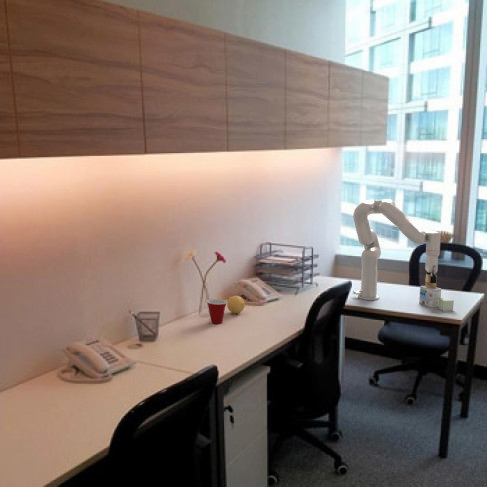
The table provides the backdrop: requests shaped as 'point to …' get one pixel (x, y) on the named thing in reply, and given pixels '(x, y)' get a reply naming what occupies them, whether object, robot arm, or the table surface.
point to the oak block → (427, 282)
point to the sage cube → (445, 304)
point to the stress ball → (235, 304)
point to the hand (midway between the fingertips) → (431, 281)
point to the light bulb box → (429, 296)
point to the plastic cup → (216, 310)
